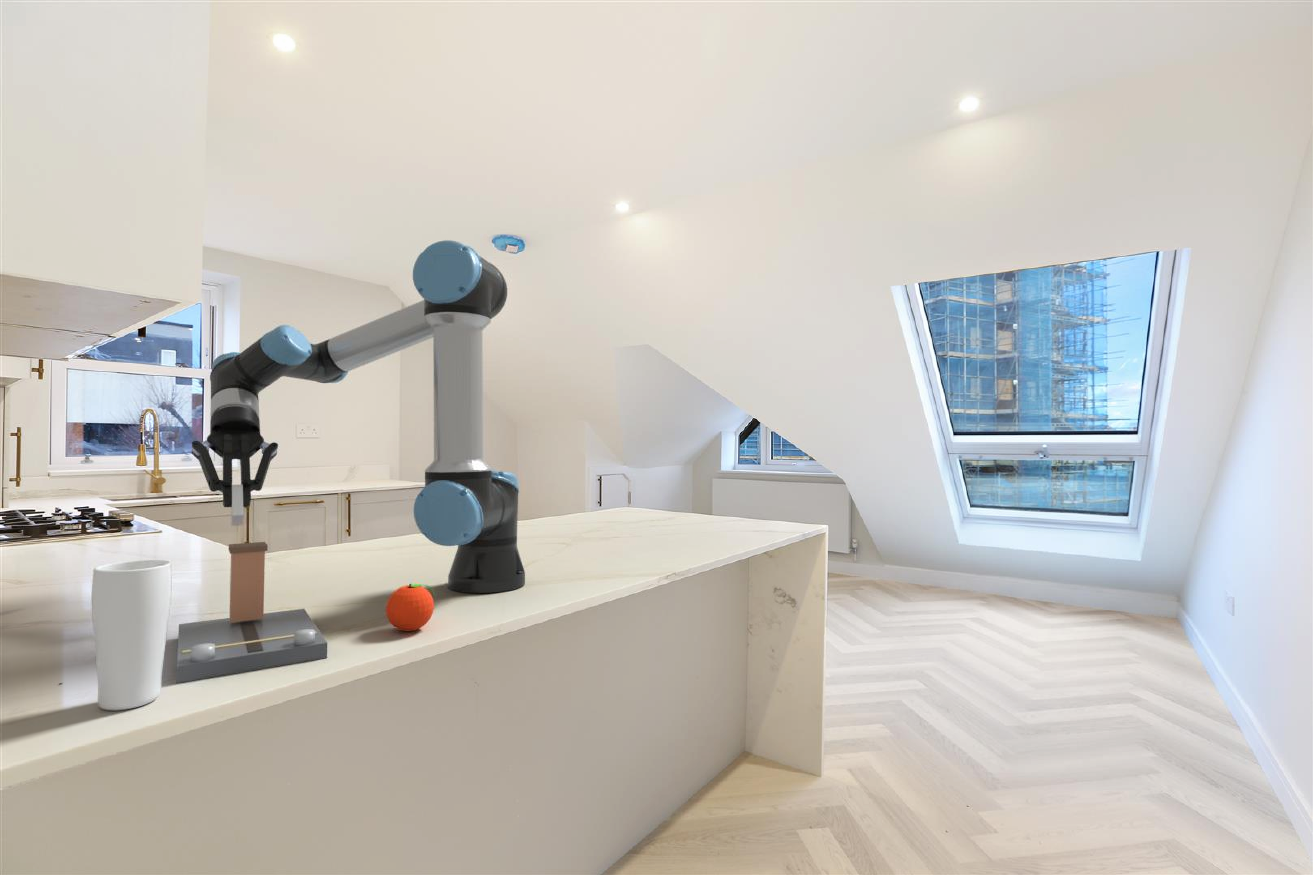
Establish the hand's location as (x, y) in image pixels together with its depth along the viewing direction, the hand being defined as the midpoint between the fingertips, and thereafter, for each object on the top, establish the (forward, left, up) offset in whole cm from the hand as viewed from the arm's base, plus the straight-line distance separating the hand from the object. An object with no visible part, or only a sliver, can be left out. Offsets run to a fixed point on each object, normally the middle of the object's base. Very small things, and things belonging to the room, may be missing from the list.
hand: (237, 520), depth 103 cm
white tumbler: (+11, +33, -16) cm, 38 cm away
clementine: (-22, +22, -16) cm, 35 cm away
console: (-1, +18, -16) cm, 24 cm away
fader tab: (-1, +11, -13) cm, 18 cm away
